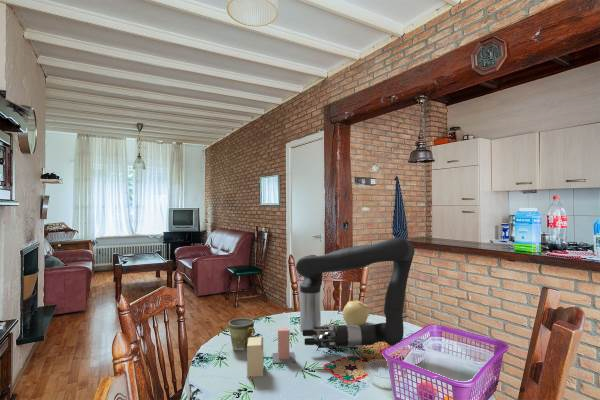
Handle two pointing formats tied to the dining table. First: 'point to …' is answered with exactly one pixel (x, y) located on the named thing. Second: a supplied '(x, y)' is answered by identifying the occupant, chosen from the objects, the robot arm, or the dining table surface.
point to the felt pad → (278, 361)
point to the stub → (283, 343)
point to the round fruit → (355, 313)
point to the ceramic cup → (241, 332)
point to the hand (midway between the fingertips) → (303, 337)
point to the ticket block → (255, 357)
